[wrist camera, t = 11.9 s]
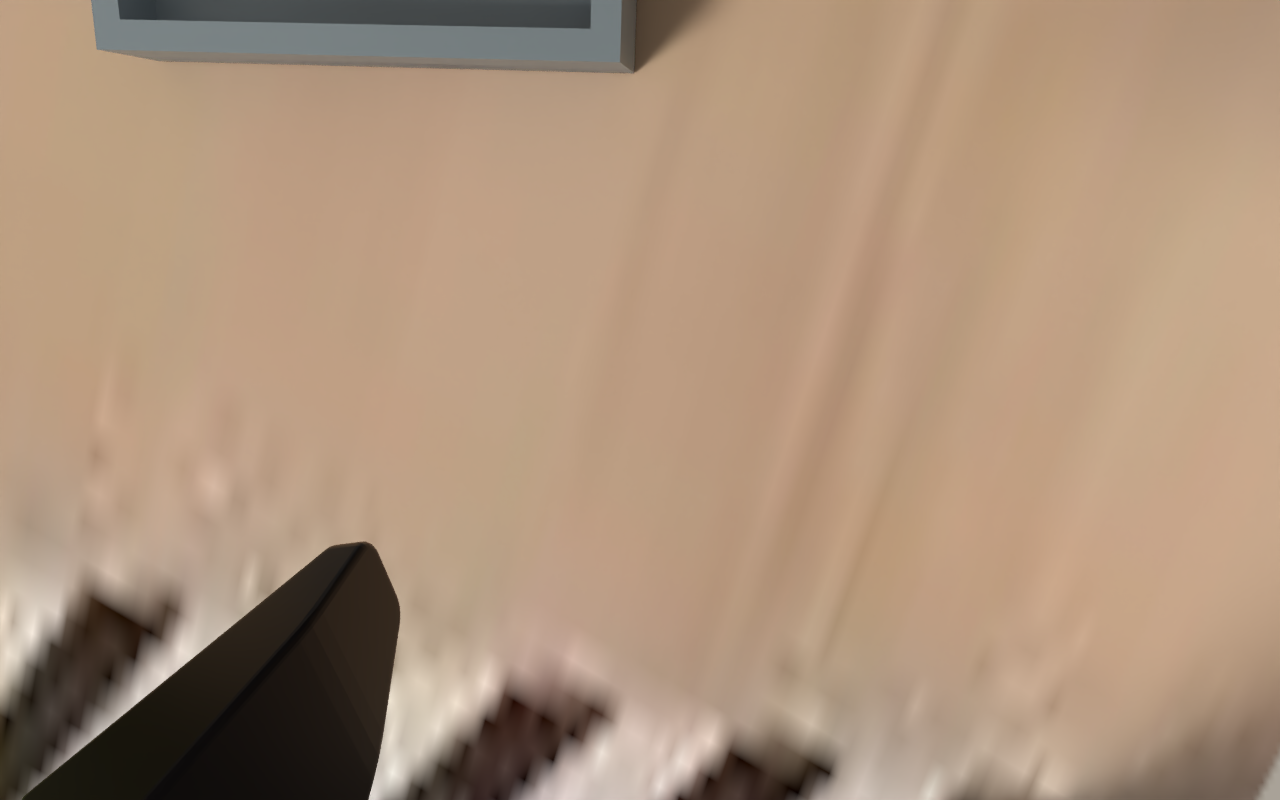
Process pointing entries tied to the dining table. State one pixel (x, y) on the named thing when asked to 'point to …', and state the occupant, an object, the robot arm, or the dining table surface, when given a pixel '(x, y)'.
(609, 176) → the dining table surface
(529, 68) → the tray
